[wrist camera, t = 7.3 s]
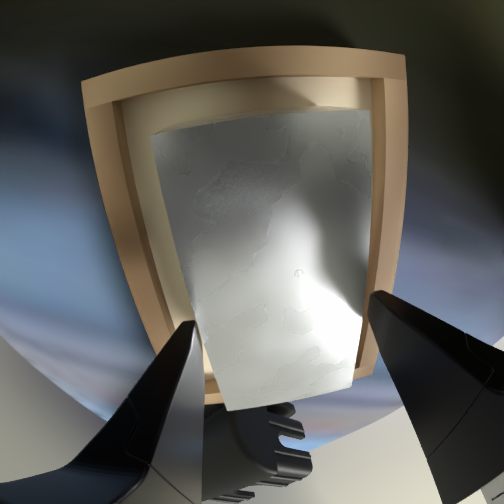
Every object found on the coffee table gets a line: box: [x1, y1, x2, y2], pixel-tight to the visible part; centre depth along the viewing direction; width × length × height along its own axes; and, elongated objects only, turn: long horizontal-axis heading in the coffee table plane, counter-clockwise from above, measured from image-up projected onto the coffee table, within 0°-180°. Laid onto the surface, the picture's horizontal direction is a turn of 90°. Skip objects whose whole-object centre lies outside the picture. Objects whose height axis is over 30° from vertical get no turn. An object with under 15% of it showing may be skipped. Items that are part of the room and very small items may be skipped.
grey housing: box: [150, 105, 372, 411], centre depth 10 cm, size 10×5×4 cm, turn 7°
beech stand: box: [81, 46, 408, 405], centre depth 13 cm, size 11×16×3 cm
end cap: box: [201, 402, 312, 504], centre depth 18 cm, size 10×7×7 cm
